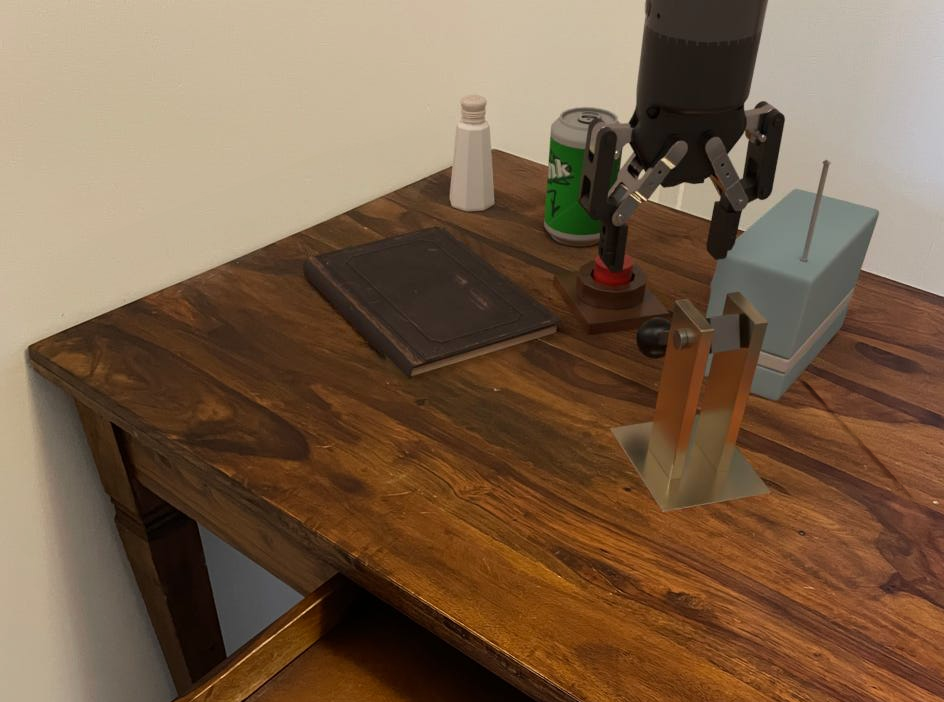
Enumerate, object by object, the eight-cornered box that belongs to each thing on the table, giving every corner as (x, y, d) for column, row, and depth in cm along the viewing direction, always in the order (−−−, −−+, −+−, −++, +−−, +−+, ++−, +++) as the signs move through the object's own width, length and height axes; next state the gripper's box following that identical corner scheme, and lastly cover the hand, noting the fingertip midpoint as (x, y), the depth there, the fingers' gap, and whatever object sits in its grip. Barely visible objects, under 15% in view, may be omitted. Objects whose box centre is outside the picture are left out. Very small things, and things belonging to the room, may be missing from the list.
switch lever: (631, 361, 78) (628, 320, 77) (667, 356, 79) (665, 315, 78) (705, 360, 66) (703, 312, 65) (747, 354, 66) (745, 306, 65)
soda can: (615, 224, 106) (630, 107, 97) (606, 254, 101) (621, 134, 92) (549, 217, 107) (557, 101, 98) (537, 246, 102) (545, 127, 93)
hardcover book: (440, 245, 102) (440, 224, 100) (560, 343, 89) (562, 320, 87) (304, 280, 97) (301, 258, 95) (409, 389, 83) (408, 366, 82)
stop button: (587, 271, 91) (589, 253, 89) (622, 267, 91) (625, 249, 90) (601, 289, 88) (603, 271, 87) (636, 284, 89) (639, 266, 88)
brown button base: (552, 294, 95) (555, 255, 92) (626, 285, 97) (631, 246, 94) (586, 345, 89) (591, 305, 86) (665, 334, 90) (672, 294, 87)
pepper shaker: (504, 206, 109) (508, 101, 101) (463, 216, 107) (464, 110, 99) (480, 189, 112) (482, 86, 104) (440, 198, 110) (439, 94, 102)
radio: (752, 307, 94) (807, 84, 79) (840, 335, 90) (915, 107, 75) (679, 379, 85) (727, 142, 70) (774, 412, 81) (844, 171, 67)
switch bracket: (607, 439, 79) (630, 281, 68) (707, 424, 80) (744, 267, 70) (660, 523, 71) (694, 360, 61) (768, 504, 73) (819, 342, 63)
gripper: (621, 45, 57) (594, 297, 69) (833, 25, 60) (772, 272, 72) (579, 9, 62) (561, 251, 74) (777, -7, 64) (728, 229, 76)
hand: (664, 261), depth 73 cm, fingers open, 8 cm apart
